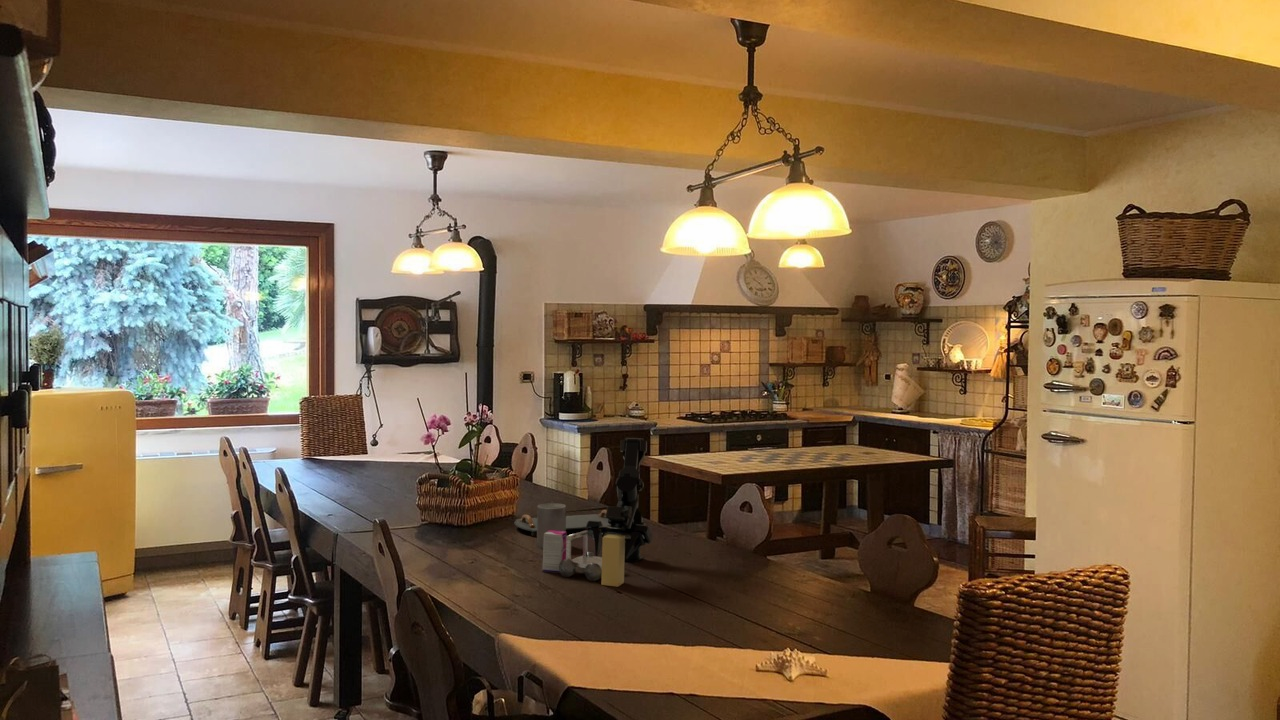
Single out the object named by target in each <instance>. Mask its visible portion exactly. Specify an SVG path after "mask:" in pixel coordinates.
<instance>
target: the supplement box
mask: <svg viewBox="0 0 1280 720" xmlns="http://www.w3.org/2000/svg"><path fill="white" fill-rule="evenodd" d="M566 536H568V535H567V531H566V532H564V531H551V530H549V531H548V532H546V533H544V545H543V551H542V571H543V572H544V573H556V574H557V573H558V574H559V573H560V571H559V564H560V562H561V561H562V560H565V559H566ZM560 574H561V573H560Z"/></svg>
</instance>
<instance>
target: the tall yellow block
mask: <svg viewBox="0 0 1280 720" xmlns="http://www.w3.org/2000/svg"><path fill="white" fill-rule="evenodd" d="M601 550H602V551H601V557H602V575H601V578H600V579H601V586H609V587H616V588H617V587H620V586H621V585H622V584H624V583H625V536H623V535H617V534H606V535H604V537H603V541H602V547H601Z"/></svg>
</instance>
